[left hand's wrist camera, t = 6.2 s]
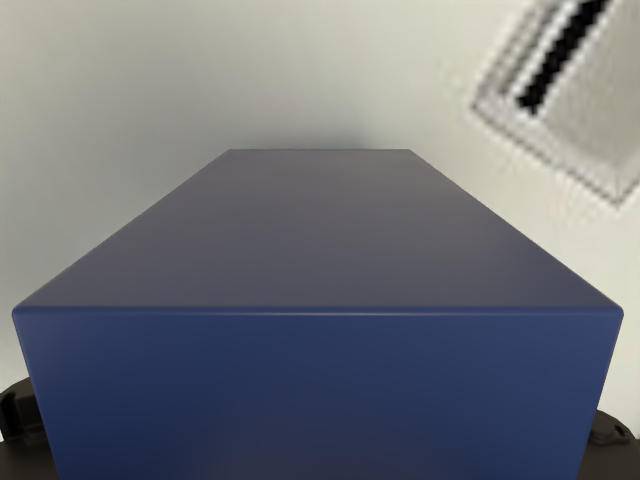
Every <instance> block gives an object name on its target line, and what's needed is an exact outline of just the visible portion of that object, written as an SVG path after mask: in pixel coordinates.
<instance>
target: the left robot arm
mask: <svg viewBox="0 0 640 480" xmlns="http://www.w3.org/2000/svg"><path fill="white" fill-rule="evenodd" d="M0 430H1V433H2V436H3V439H4V441H2V442H0V480H60V479H59V476H58V472H57V469H56V465H55V462H54V458H53V455H52V452H51V448H50V445H49V441H48V438H47V434H46V431H45V428H44V424H43V421H42V417H41V414H40V411H39V407H38V404H37V400H36V397H35V393H34V390H33V387H32V383H31V380H30V377H28V378H26V379H24V380H21V381H19V382H17V383H15V384H13V385H11V386H10V387H9V388H7V389H6V390H4V391H3V392H2V393H0ZM577 480H640V440H638V439H635V437H634V436H633V434H632V433H631V431H630V430H629V429H628V428H627V427H626V426H625V425H623V424H622V423H621V422H620V421H619V420H617V419H616V418H614V417H612V416H610V415H608V414H607V413H605V412H603V411H600V410H596V414H595V417H594V421H593V424H592V427H591V431H590V434H589V438H588V441H587V445H586V448H585V452H584V455H583V459H582V462H581V466H580V469H579V473H578V476H577Z"/></svg>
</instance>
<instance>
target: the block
mask: <svg viewBox="0 0 640 480" xmlns="http://www.w3.org/2000/svg"><path fill="white" fill-rule="evenodd" d="M623 316H624V313H623V309H622V307H620V306H619V305H618V304H616V303H615V302H614V301H612V300H611V299H610V298H608V297H607V296H606V295H604V294H603V293H602V292H600V291H599V290H598V289H596V288H595V287H593V286H592V285H591V284H589V283H588V282H587V281H585V280H584V279H583V278H581V277H580V276H579V275H577V274H576V273H575V272H573V271H572V270H571V269H569V268H568V267H567V266H565V265H564V264H563V263H561V262H560V261H559V260H557V259H556V258H555V257H553V256H552V255H551V254H549V253H548V252H547V251H545V250H544V249H542V248H541V247H540V246H538V245H537V244H536V243H534V242H533V241H532V240H530V239H529V238H528V237H526V236H525V235H524V234H522V233H521V232H520V231H518V230H517V229H516V228H514V227H513V226H512V225H510V224H509V223H508V222H506V221H505V220H504V219H502V218H501V217H500V216H498V215H497V214H495V213H494V212H493V211H491V210H490V209H489V208H487V207H486V206H485V205H483V204H482V203H481V202H479V201H478V200H477V199H475V198H474V197H473V196H471V195H470V194H469V193H467V192H466V191H465V190H463V189H462V188H461V187H459V186H458V185H457V184H455V183H454V182H453V181H451V180H450V179H449V178H447V177H446V176H444V175H443V174H442V173H440V172H439V171H438V170H436V169H435V168H434V167H432V166H431V165H430V164H428V163H427V162H426V161H424V160H423V159H422V158H420V157H419V156H418V155H416V154H415V153H414V152H412V151H411V150H409V149H230V150H228V151H226V152H225V153H224V154H222V155H221V156H220V157H218V158H217V159H215V160H214V161H213V162H211V163H210V164H209V165H207V166H206V167H205V168H203V169H202V170H200V171H199V172H198V173H196V174H195V175H194V176H192V177H191V178H190V179H188V180H187V181H185V182H184V183H183V184H181V185H180V186H179V187H177V188H176V189H175V190H173V191H172V192H170V193H169V194H168V195H166V196H165V197H164V198H162V199H161V200H160V201H158V202H157V203H155V204H154V205H153V206H151V207H150V208H149V209H147V210H146V211H145V212H143V213H142V214H141V215H139V216H138V217H136V218H135V219H134V220H132V221H131V222H130V223H128V224H127V225H126V226H124V227H123V228H121V229H120V230H119V231H117V232H116V233H115V234H113V235H112V236H111V237H109V238H108V239H106V240H105V241H104V242H102V243H101V244H100V245H98V246H97V247H96V248H94V249H93V250H91V251H90V252H89V253H87V254H86V255H85V256H83V257H82V258H81V259H79V260H78V261H76V262H75V263H74V264H72V265H71V266H70V267H68V268H67V269H66V270H64V271H63V272H61V273H60V274H59V275H57V276H56V277H55V278H53V279H52V280H51V281H49V282H48V283H47V284H45V285H44V286H42V287H41V288H40V289H38V290H37V291H36V292H34V293H33V294H32V295H30V296H29V297H27V298H26V299H25V300H23V301H22V302H21V303H19V304H18V305H17V306H15V307H14V308H13V310H12V318H13V322H14V325H15V328H16V332H17V335H18V339H19V342H20V346H21V349H22V352H23V356H24V359H25V363H26V366H27V369H28V373H29V376H30V380H31V383H32V387H33V390H34V393H35V397H36V400H37V404H38V407H39V411H40V414H41V417H42V421H43V424H44V428H45V431H46V434H47V438H48V441H49V445H50V448H51V452H52V455H53V458H54V462H55V465H56V469H57V472H58V476H59V479H60V480H577V476H578V473H579V469H580V466H581V462H582V459H583V455H584V452H585V448H586V445H587V441H588V438H589V434H590V431H591V427H592V424H593V421H594V417H595V414H596V410H597V407H598V403H599V400H600V396H601V393H602V389H603V386H604V382H605V379H606V375H607V372H608V368H609V365H610V362H611V358H612V355H613V351H614V348H615V344H616V341H617V337H618V334H619V330H620V327H621V323H622V320H623Z"/></svg>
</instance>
